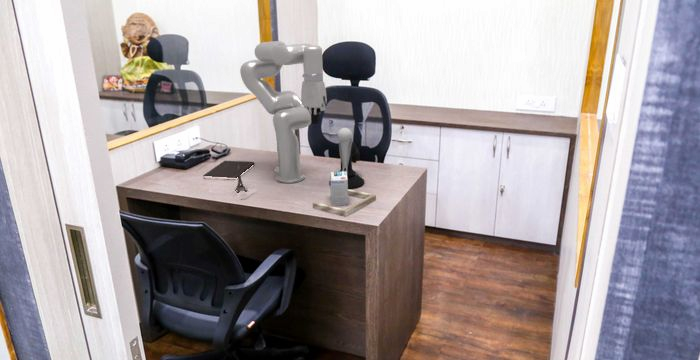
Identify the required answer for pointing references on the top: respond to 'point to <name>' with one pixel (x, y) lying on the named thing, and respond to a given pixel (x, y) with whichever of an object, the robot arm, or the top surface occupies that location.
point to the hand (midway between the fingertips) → (315, 123)
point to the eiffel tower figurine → (240, 183)
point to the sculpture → (349, 158)
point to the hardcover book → (229, 169)
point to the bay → (345, 212)
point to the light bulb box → (339, 188)
